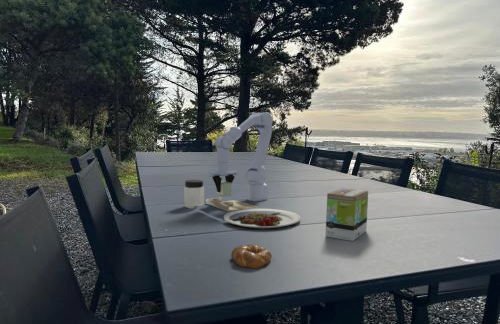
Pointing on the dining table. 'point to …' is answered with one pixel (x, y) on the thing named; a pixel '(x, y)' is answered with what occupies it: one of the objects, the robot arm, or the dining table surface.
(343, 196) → the tea box
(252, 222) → the plated food
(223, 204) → the beige compartment tray
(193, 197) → the jar
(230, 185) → the tea tin
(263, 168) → the robot arm
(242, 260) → the bagel
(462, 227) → the dining table surface
